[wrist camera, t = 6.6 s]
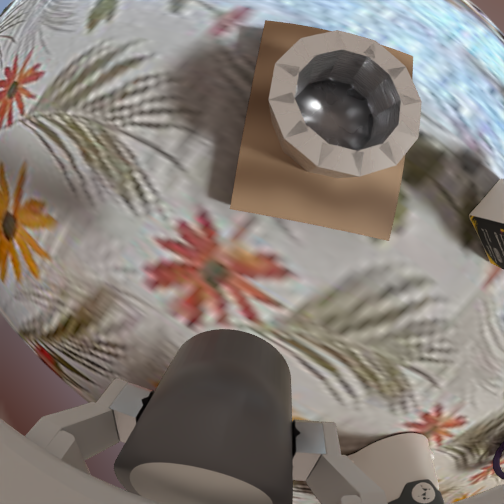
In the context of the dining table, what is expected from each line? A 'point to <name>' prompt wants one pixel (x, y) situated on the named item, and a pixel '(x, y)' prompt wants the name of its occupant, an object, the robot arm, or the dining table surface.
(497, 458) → the decorative bottle
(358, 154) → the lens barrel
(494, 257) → the medicine bottle
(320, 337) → the dining table surface
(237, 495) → the gray white-topped cylinder
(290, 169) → the mounting block
